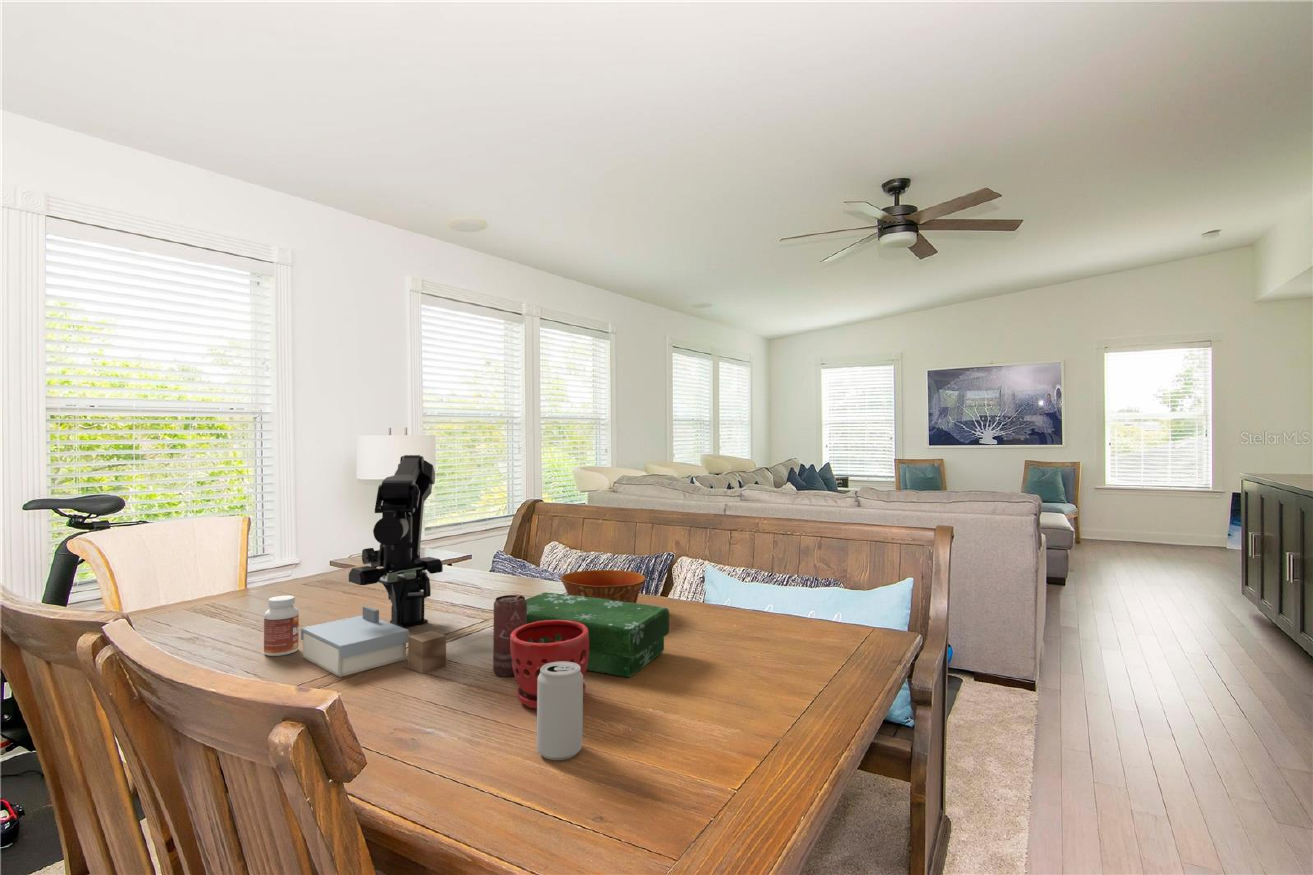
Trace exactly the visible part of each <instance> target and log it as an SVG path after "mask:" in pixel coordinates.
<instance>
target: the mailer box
mask: <svg viewBox="0 0 1313 875" xmlns="http://www.w3.org/2000/svg"><path fill="white" fill-rule="evenodd" d="M302 641H303V642H302V646H303V647H302V648H303V649H302V650H303V652H302V657H303V659H305V660H307V661H309V662H310V663H312V664H314V665H316V666H317V667H320V668H322V669H323V670H325V671H327V672H329V673H331V674H333V675H335V676H336V677H338V678H341V677H346V676H349V675H352V674H353V675H354V674H356V673H361V672H363V671H367V670H371V669H374V668H379V667H382V666H386V665H390V664H394V663H397V662H401V661H406V660H407V651H406V650H407V643H403V644H399V645H395V646H391V647H387V648H383V649H379V650H375V651H371V652H367V653H363V654H359V655H355V656H352V657H348V658H344V659H339V649H338V648H336V647H334V646H332V645H330V644H328V643H326V642H324V641H321V640H319V639H317V638H315V637H313V636H311V635H309V634H307V633H305V632H304V633H303V640H302Z"/></svg>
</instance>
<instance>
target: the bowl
mask: <svg viewBox="0 0 1313 875" xmlns="http://www.w3.org/2000/svg"><path fill="white" fill-rule="evenodd" d="M646 580H647V577H646V576H645V575H643V574H642V573H639V572H636V571H630V570H628V571H627V570H620V569H619V570H617V569H615V570H614V569H594V570H593V569H592V570H581V571H574V572H572V571H571V572H568V573H565V574H563V575H561V576H560V581H561V582H562V585H563V586H564V589H565V592H566V595H574V596H582V597H591V598H598V599H607V600H614V601H623V602H630V603H637V601H638V598H639V594H640V592H641V589H642V587H643V586H644V584H645V583H646Z"/></svg>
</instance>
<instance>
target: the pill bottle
mask: <svg viewBox="0 0 1313 875" xmlns="http://www.w3.org/2000/svg"><path fill="white" fill-rule="evenodd" d="M295 602H296V601H295V596H294V595H278V596H273V597H270V598H268V601H267V605H268V607H269V609H267V610H266V611H265V613H264V615H263V653H264V655H266V656H268V657H282V656H286V655H290V654H293V653H295V652H297V651H298V649H299V635H300V634H299V633H300V632H299V629H300V628H299V625H300V624H299V620H300V618H299V617H300V616H299V615H300V613H299V609H298V608H297V607H296V606H294V605H295Z"/></svg>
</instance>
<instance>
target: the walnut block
mask: <svg viewBox="0 0 1313 875" xmlns="http://www.w3.org/2000/svg"><path fill="white" fill-rule="evenodd" d="M407 645H408V646H407V648H408V649H407V655H408V656H407V660H408V661H407V668H409V669H410V670H412V671H416V672H418V673H420V674H426V673H429V672H432V671H436V670H438V669H443V668H446V667H447V636H446V635H445V634H443V633H439V632H436V631H434V630H428V631H426V632H420V633H417V634H412V635H409V636H408V642H407Z"/></svg>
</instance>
